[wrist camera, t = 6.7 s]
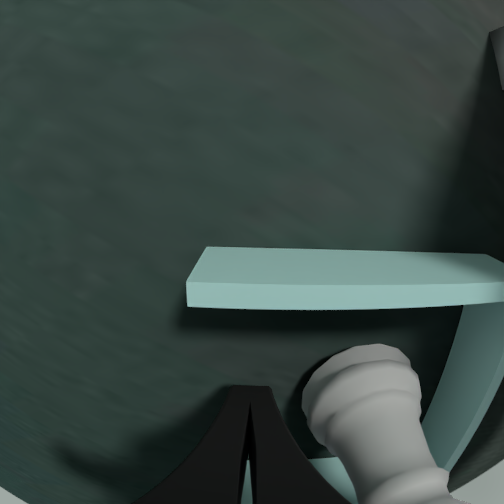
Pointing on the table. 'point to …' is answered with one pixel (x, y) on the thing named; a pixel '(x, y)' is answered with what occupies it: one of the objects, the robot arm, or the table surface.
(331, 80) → the table surface
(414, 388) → the rook chess piece
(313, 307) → the teal frame
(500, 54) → the toy llama
